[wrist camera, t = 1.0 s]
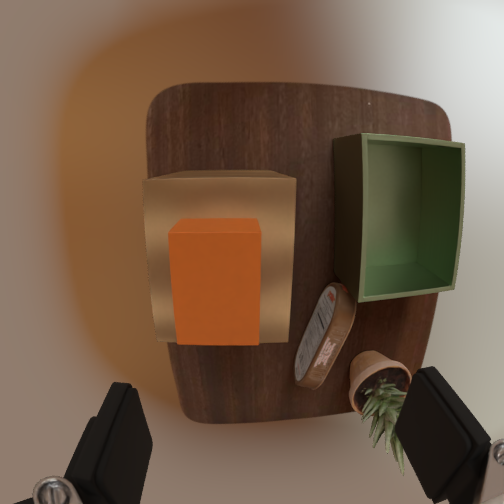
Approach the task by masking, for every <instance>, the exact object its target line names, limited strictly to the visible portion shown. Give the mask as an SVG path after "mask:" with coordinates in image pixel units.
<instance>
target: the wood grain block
mask: <svg viewBox="0 0 504 504" xmlns="http://www.w3.org/2000/svg"><path fill="white" fill-rule="evenodd" d="M143 203H144V204H143V205H144V223H145V238H146V239H145V240H146V252H147V264H148V275H149V284H150V293H151V302H152V310H153V318H154V325H155V332H156V340H157V341H160V342H177V337H176V328H175V319H174V309H173V298H172V287H171V274H170V260H169V244H168V232H169V231H170V230H171V229H172V228H173V226H174V225H175V224H176V223H177V222H178V221H179V220H180V219H195V218H257V220H258V223H259V226H260V229H261V232H262V236H261V286H260V330H259V343H277V342H288V336H289V322H290V308H291V292H292V274H293V255H294V233H295V207H296V178H293V177H290V176H287V175H283V174H280V173H277V172H274V171H270V170H188V171H181V172H177V173H172V174H167V175H162V176H158V177H153V178H149V179H145V180H143Z"/></svg>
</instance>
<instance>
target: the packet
mask: <svg viewBox="0 0 504 504" xmlns="http://www.w3.org/2000/svg"><path fill="white" fill-rule="evenodd" d="M261 236H262V232H261V229H260V226H259V223H258V220H257V218H195V219H180V220H179V221H178V222H177V223H176V224H175V225H174V226H173V228H172V229H171V230H170V231H169V232H168V244H169V260H170V274H171V287H172V298H173V309H174V319H175V328H176V337H177V344H179V345H259V330H260V286H261Z"/></svg>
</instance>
